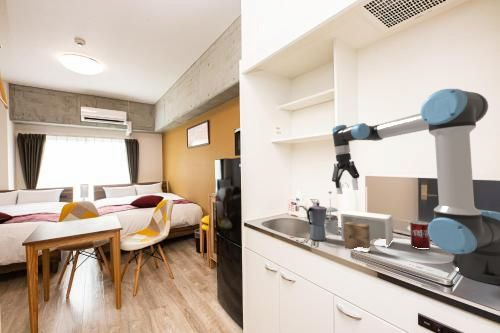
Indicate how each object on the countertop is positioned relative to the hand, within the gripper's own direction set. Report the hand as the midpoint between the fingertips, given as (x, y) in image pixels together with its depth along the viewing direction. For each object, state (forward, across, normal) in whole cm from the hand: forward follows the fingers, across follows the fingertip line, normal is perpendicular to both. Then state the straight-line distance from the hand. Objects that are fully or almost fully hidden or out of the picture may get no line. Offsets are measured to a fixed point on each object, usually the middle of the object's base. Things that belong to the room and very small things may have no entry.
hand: (348, 191), depth 118 cm
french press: (+25, 0, -16) cm, 30 cm away
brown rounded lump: (+26, +12, +10) cm, 30 cm away
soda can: (+29, -14, +25) cm, 40 cm away
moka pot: (+24, +16, -11) cm, 31 cm away
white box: (+26, -3, +5) cm, 27 cm away
